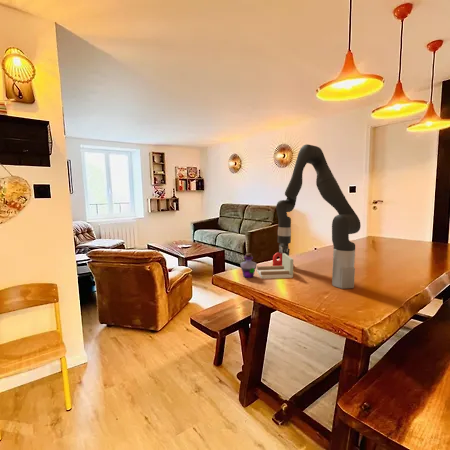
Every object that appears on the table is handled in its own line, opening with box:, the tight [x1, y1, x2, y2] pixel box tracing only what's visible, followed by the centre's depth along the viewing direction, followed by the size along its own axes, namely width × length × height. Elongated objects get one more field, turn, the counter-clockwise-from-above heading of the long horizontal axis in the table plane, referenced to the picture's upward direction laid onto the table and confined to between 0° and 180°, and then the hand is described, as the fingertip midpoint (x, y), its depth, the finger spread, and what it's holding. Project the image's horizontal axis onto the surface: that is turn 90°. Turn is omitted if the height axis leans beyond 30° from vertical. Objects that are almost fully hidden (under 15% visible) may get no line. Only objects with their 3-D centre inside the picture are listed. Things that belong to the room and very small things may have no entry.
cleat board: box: [255, 253, 294, 280], centre depth 151 cm, size 14×16×10 cm
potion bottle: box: [240, 252, 258, 279], centre depth 147 cm, size 9×9×12 cm
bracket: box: [272, 252, 294, 267], centre depth 167 cm, size 12×4×8 cm, turn 113°
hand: (283, 263), depth 168 cm, fingers open, 4 cm apart
